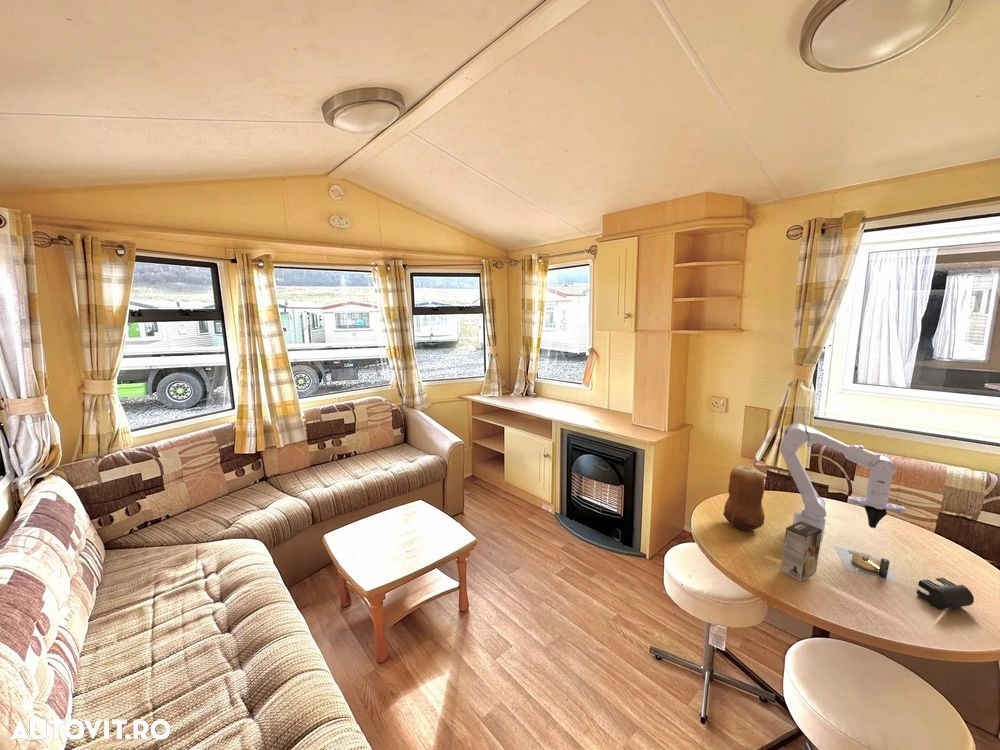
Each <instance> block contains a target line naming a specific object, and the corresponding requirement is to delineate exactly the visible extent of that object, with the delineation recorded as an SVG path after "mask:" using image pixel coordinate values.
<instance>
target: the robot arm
mask: <svg viewBox="0 0 1000 750" xmlns="http://www.w3.org/2000/svg"><path fill="white" fill-rule="evenodd" d="M783 433H784V434H783V437H782V440H781V443H780V447H779V452H780V454H781V456H782V458H783V460H784V462H785V464H786V466H787V468H788V471H789V472H790V475H791V477H792V479H793V482H794V483H795V485H796V488H797V490H798V491H799V493H800V497H801V500H802V502H803V504H804V509H803V510H802V511H801V512H800V511H799V512H798V511H796V512H794V514H793V519H792V525H793V524H795V523H798V522H800V521H802V522H804V523H807V524H810V525H812V526H814V527H817V528H819V529H822V533H821V541H823V540H824V535H825V529H826V520H827V518H826V516H827V511H826V502H825V500H824V499H823V498H822V497H821V496H820V495H819V494H818V492H817V491H816V489H815V488H814V486H813V484H812V481H811V479H810V478H809V475H808V474H807V471H806V470H805V468H804V467H805V466H804V465H803V463H802V460H801V459H800V457H799V455H798V453H797V451H798V449H799V448H800V447H801V446H803V445H804V444H806V443H807V442H808V445H813V444H820V445H822V446H824V447H828V448H829V449H831V450H834V451H837V452H839V453H841V454H843V455H844V458H845V459H846V460H849V461H851V462H853V463H854V464H855V463H856V465H857V464H858V465H860V466H861V467H863V468H866V469H870V473H869V476H868V480H867V485H866V486H867V487H866V492H865V497H857V496H856V497H855V496H848V497H847V503H848V504H849V505H859V506H863V507H864V510H865V513H866V516H867V521H868V526H869V528H873V529H876V527H877V526H878V524H879V522H881V520H882V519H883V518H884V517H885V516H887V514H888V512H887V511H889V512H890V511H892V512H896V513H899V514H902V515H904V514H905V513H906V508H905V506H902V505H898V504H895V503H891V502H888V501H889V497H890V492H891V486H892V478H893V476H894V475H895V474H896V472H897V471H896V466H895V464H894V463H893V461H892V460H891V458H889V457H888V456H886V455H885V454H880V453H878V452H877V453H875V452H873V451H870V450H868V449H866V448H865V446H864V445H861V444H858V445H857V444H850V445H849V444H845V442H842V441H840V440H838V439H836V438H834V437H832V436H829V435H828V434H825V433H823V432H821V431H820V430H817V429H815V428H813V427H810V426H809V425H807V426H806V425H804V424H802V423H799V422H794V423H791V424H789V426H787V428H786V429H785V431H784V432H783Z"/></svg>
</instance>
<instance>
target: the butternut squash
mask: <svg viewBox="0 0 1000 750" xmlns="http://www.w3.org/2000/svg"><path fill="white" fill-rule="evenodd" d="M727 489H728V490H727V491H728V494H729V495H728V498H727V500H726V501H725V504H724V509H723V514H722V515H723V517H724V518H725V519H726V521H727V522H728V523H729V524H730V525H732V526H733V527H735V528H737V529H740V530H743V531H753V530H754V531H755V530H757V529H759V528H761V527H762V526H763V525H764V524H765V519H766V517H765V516H766V515H765V511H764V509H763V504H762V502H763V501H762V500H763V497H764V492H765V478H764V475H763V473H762V472H761V471H760V470H758V469H756V468H752V467H748V466H745V465H735V466H734V467H733V468H732V470H730V473H729V483H728V488H727Z"/></svg>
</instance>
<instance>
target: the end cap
mask: <svg viewBox="0 0 1000 750" xmlns="http://www.w3.org/2000/svg"><path fill="white" fill-rule="evenodd" d="M935 580H936V581H937V582H939V583H940V584H937V583H936V582H933V581H932V580H930V579H921V580H919V581H918V583H917V585H918V587H920V588H921V589H923V590H925V591H926V592H924V591H923V590H921V589H919V588H918V589H917V590H916V595H918V596H920V597H921V598H923V599H925V600H926V601H928V602H929V603H930V606H932V607H933V608H935V609H937V610H945V609H954V608H960V607H961V608H962V607H968V606H971V605H973V604H974V601H975V599H974V595H973V593H972V592H971V590H970V589H969V588H968V587H967V586H966V585H963V584H955V583H954V582H952V581H950V580H949V579H946V578H945V577H938V578H935ZM941 584H942V585H941Z"/></svg>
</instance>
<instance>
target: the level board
mask: <svg viewBox="0 0 1000 750" xmlns="http://www.w3.org/2000/svg"><path fill="white" fill-rule="evenodd" d="M835 549H836V551H837V554H838V556H839V558H840V561H841V563H842V565H843V568H844V570H845V571H848V572H852V573H855V574H860V575H863V576H868V577H871V578H875V579H880V580H884V581H888V582H891V583H895V584H899V582H898V580H897V578H896V577H895V574H894V573H893V572H892V570H891V568H890V567H889V568H888V573H887V578H883V577H881V576H879V575H878V573H876V572H870V571H867V570H864V569H862V568H860V567H858V566H856V565H855V564H854V563H853V562H852V555H854V554H864V555H868V556H871V557H873V558H875V559H877V560H879V561H880V562H881V559H882V558H883V559H885V558H884V557H883V556H880V555H874V554H870V553H866V552H861V551H856V550H852V549H848V548H844V547H839V546H835Z"/></svg>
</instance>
